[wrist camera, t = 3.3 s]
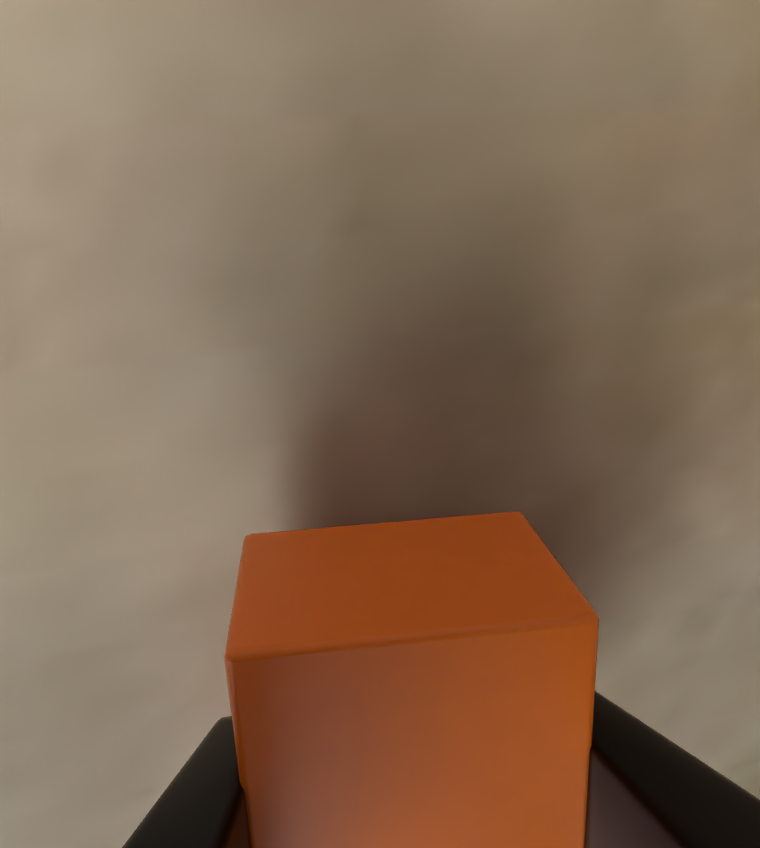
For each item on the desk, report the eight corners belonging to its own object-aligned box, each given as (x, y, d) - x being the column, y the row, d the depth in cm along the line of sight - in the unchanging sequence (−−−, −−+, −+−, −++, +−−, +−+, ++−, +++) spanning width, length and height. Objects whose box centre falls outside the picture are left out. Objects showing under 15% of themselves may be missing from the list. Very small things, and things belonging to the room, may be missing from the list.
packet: (516, 791, 10) (581, 966, 8) (274, 821, 10) (267, 1014, 7) (521, 508, 9) (603, 615, 6) (242, 531, 9) (222, 654, 6)
